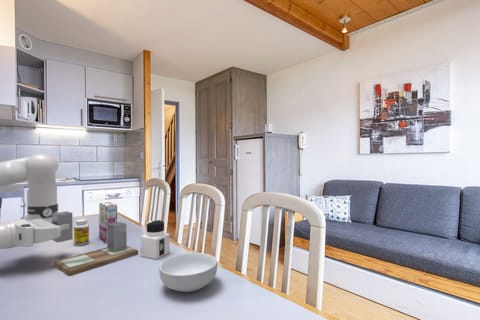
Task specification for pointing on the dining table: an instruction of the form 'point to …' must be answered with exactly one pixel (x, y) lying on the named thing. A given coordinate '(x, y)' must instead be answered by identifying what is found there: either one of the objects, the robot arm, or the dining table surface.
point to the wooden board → (92, 260)
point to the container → (155, 240)
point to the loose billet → (63, 219)
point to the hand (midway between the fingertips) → (65, 224)
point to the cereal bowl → (188, 271)
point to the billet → (116, 237)
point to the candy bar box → (106, 218)
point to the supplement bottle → (81, 232)
